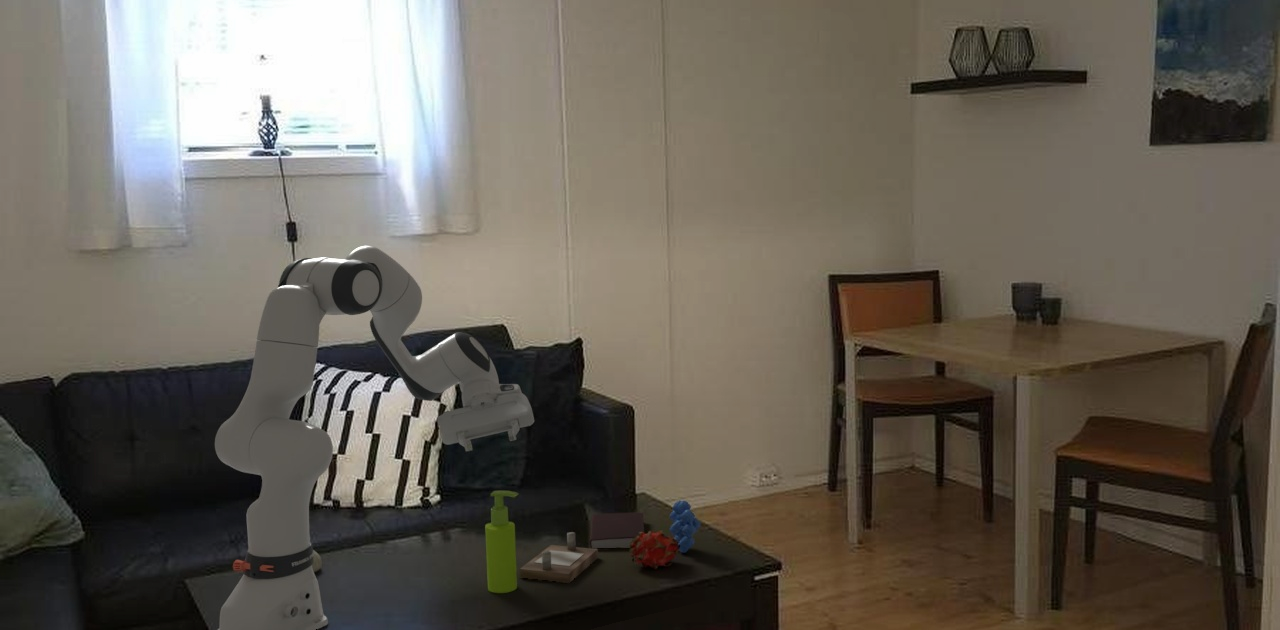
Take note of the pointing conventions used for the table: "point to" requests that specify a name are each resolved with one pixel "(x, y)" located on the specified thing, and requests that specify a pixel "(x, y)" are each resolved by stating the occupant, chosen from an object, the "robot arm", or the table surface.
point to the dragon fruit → (653, 549)
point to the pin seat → (560, 562)
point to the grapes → (683, 525)
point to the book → (615, 529)
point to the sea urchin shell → (316, 562)
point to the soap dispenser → (501, 547)
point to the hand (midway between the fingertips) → (490, 443)
